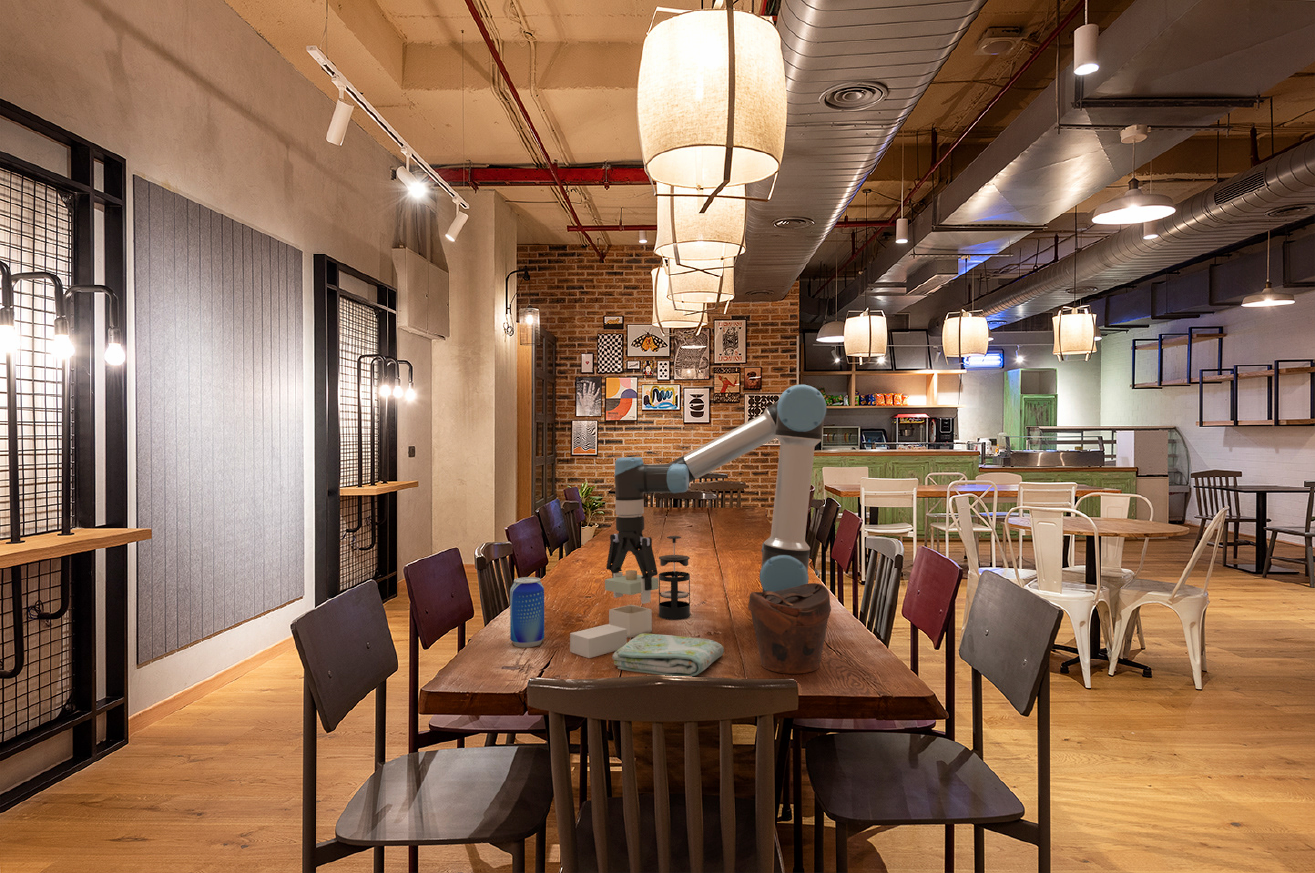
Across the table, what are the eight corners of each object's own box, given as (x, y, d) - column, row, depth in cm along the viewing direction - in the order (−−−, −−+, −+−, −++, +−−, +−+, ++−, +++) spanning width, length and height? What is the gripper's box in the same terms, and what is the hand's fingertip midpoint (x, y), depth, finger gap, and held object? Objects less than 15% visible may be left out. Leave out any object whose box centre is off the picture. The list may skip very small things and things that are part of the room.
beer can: (540, 637, 184) (540, 575, 184) (547, 646, 176) (547, 581, 176) (507, 640, 181) (507, 577, 181) (513, 649, 173) (513, 584, 173)
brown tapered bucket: (731, 670, 157) (732, 588, 157) (770, 648, 173) (771, 574, 173) (808, 687, 147) (810, 600, 147) (841, 662, 163) (842, 584, 163)
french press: (690, 620, 200) (690, 538, 200) (657, 620, 200) (656, 538, 200) (690, 610, 212) (690, 533, 212) (659, 610, 212) (658, 533, 212)
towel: (642, 648, 175) (641, 627, 175) (725, 657, 167) (725, 636, 167) (609, 670, 158) (609, 647, 158) (700, 682, 150) (700, 658, 150)
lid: (658, 588, 188) (657, 570, 188) (630, 595, 181) (630, 576, 181) (632, 583, 195) (632, 566, 195) (605, 590, 188) (604, 571, 188)
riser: (626, 647, 174) (626, 629, 174) (588, 658, 166) (588, 638, 166) (608, 641, 179) (608, 623, 179) (570, 651, 171) (570, 633, 171)
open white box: (651, 631, 188) (651, 609, 188) (629, 638, 183) (629, 614, 183) (631, 626, 194) (631, 604, 194) (609, 632, 188) (609, 609, 188)
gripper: (670, 516, 183) (672, 603, 183) (612, 512, 199) (614, 591, 199) (649, 519, 178) (651, 608, 178) (591, 514, 194) (593, 596, 194)
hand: (632, 599), depth 188 cm, fingers closed on lid, 10 cm apart
